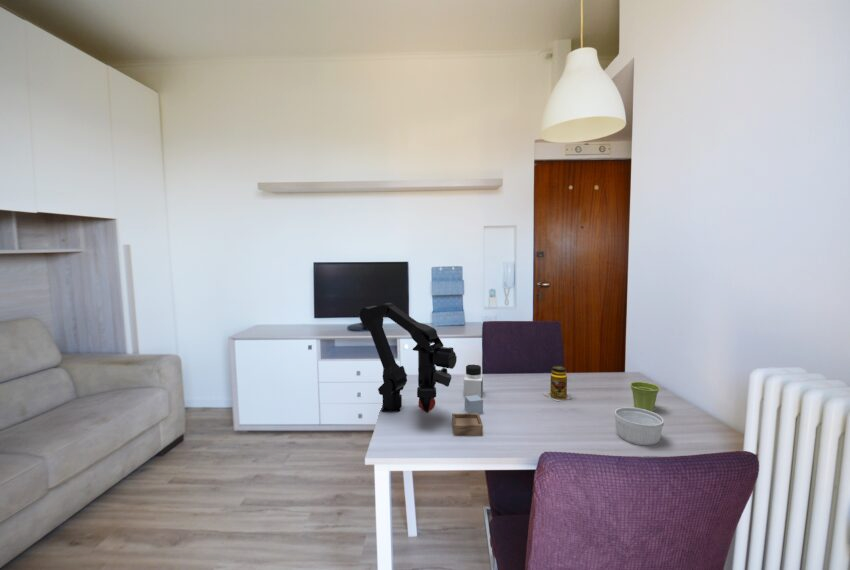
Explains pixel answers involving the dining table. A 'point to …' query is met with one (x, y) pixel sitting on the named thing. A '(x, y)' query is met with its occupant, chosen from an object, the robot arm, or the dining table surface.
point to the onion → (430, 405)
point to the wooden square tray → (467, 424)
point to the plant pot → (644, 395)
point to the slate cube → (473, 404)
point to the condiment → (558, 384)
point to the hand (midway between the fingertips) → (426, 408)
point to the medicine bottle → (473, 381)
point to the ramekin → (638, 425)
